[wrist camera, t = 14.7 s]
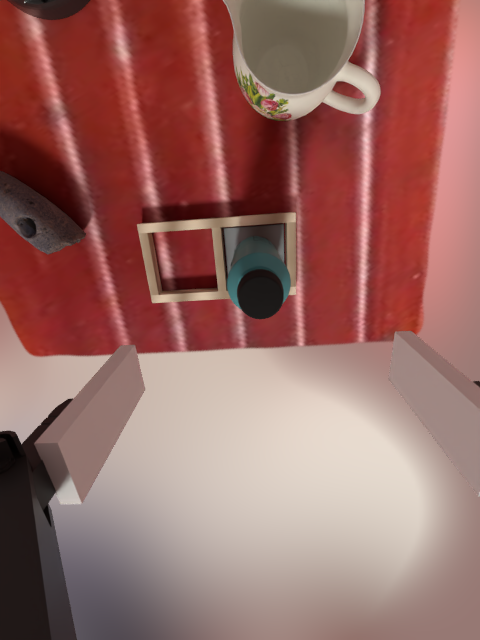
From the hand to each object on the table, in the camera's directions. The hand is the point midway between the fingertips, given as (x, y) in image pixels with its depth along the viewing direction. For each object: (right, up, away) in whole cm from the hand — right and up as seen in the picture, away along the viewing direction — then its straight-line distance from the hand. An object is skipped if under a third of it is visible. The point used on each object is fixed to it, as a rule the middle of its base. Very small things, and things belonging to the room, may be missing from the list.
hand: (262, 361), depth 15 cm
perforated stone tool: (-29, +18, +27) cm, 44 cm away
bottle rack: (-4, +11, +29) cm, 31 cm away
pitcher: (+5, +31, +21) cm, 37 cm away
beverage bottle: (+1, +11, +28) cm, 30 cm away
